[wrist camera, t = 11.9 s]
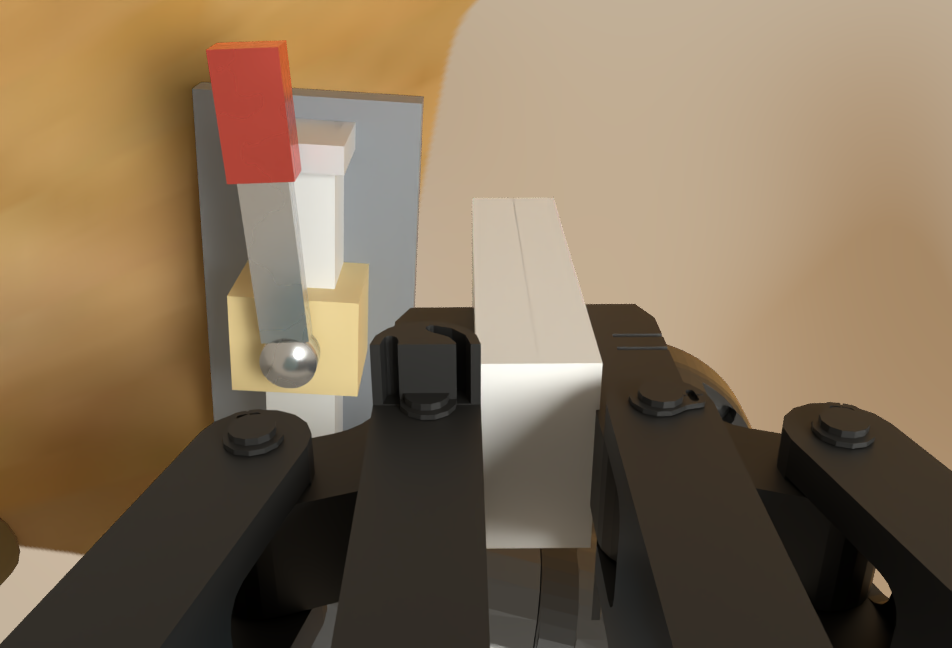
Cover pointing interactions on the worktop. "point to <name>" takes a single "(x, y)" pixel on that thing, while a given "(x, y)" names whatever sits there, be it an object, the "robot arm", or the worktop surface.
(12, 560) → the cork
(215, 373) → the valve board
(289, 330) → the lever
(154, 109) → the worktop surface
